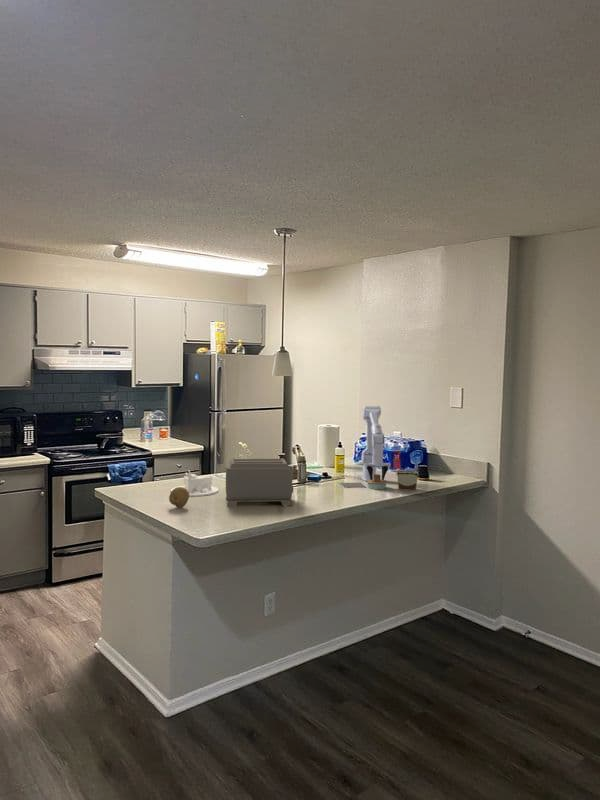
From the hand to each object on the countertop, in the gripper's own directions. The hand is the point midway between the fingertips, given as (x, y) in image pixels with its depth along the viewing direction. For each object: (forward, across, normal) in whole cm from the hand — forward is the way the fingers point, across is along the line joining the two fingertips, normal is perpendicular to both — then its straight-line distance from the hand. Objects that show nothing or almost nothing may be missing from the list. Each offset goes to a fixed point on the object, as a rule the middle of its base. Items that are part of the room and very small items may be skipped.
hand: (377, 479), depth 347 cm
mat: (+4, -12, +7) cm, 15 cm away
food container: (+5, +16, -4) cm, 17 cm away
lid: (+1, 0, 0) cm, 1 cm away
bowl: (+4, 0, 0) cm, 4 cm away
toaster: (+5, -67, -29) cm, 73 cm away
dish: (+5, -100, -2) cm, 100 cm away
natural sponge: (+5, -107, -39) cm, 114 cm away
